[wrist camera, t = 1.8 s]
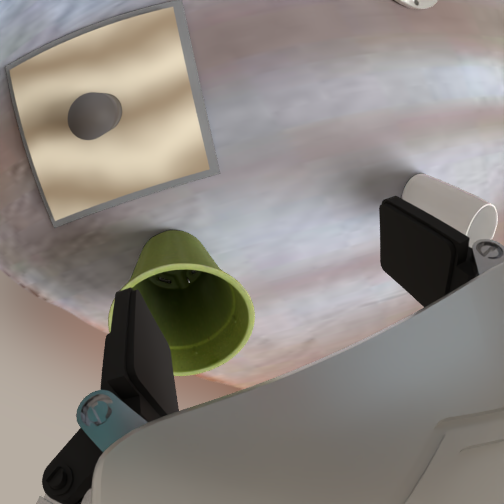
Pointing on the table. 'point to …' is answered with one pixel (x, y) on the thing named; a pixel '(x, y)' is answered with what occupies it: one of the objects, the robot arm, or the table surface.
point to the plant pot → (192, 302)
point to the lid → (109, 113)
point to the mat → (197, 99)
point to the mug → (452, 206)
